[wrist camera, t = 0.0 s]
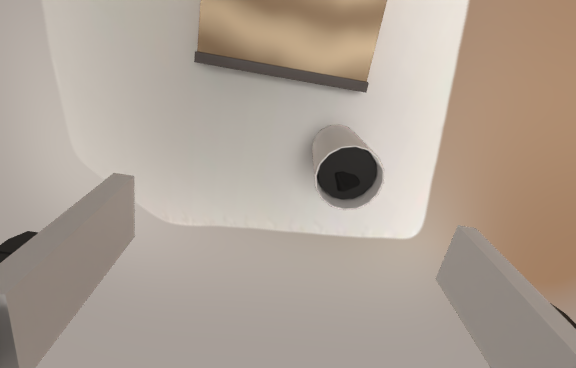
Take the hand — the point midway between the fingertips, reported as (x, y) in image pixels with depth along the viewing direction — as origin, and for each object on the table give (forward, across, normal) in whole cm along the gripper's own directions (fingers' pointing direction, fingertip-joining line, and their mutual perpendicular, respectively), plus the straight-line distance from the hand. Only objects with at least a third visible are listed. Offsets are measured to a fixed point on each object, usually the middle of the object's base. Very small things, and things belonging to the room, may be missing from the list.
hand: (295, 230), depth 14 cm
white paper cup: (+28, +6, -4) cm, 29 cm away
